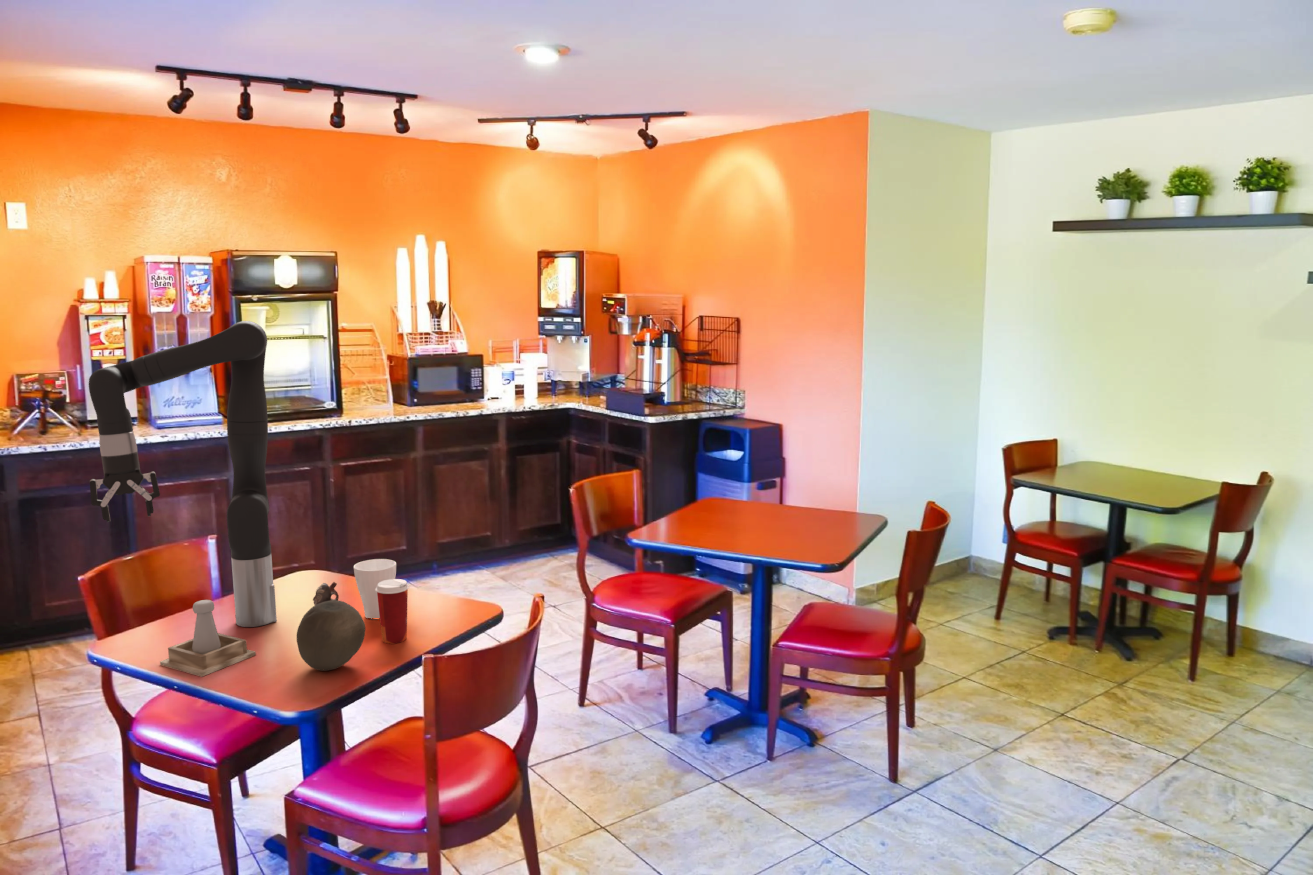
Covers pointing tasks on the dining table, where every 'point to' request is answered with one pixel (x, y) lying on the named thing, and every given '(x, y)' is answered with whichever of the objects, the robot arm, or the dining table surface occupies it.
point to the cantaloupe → (330, 635)
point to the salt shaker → (205, 628)
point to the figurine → (325, 593)
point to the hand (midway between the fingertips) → (129, 518)
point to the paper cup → (393, 609)
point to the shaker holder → (207, 656)
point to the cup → (372, 582)
